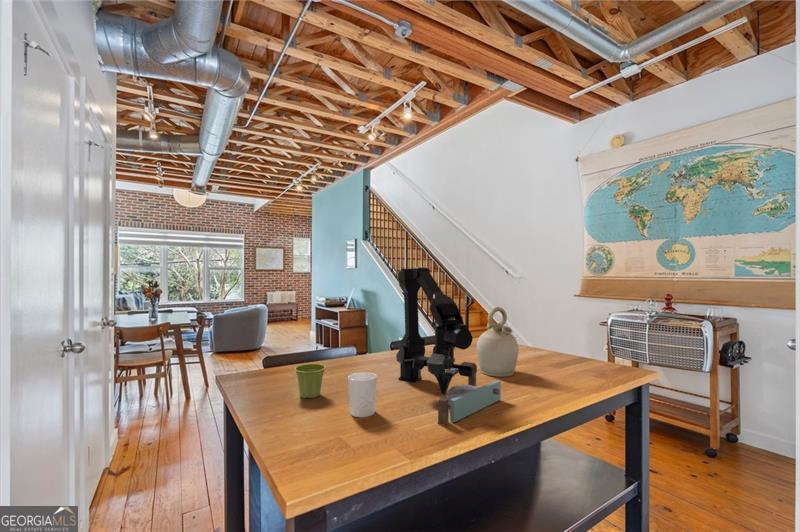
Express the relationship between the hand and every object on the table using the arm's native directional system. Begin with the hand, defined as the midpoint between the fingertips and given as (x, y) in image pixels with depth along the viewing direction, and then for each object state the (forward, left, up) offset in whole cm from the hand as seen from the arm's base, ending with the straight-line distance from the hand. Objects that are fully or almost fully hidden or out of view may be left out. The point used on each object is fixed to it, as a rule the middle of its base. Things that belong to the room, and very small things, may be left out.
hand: (443, 394), depth 109 cm
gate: (+12, -4, -1) cm, 13 cm away
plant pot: (-38, -16, -2) cm, 41 cm away
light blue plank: (+6, -3, -2) cm, 7 cm away
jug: (+8, +37, -2) cm, 38 cm away
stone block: (+5, +2, -2) cm, 6 cm away
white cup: (-16, -20, -2) cm, 26 cm away
